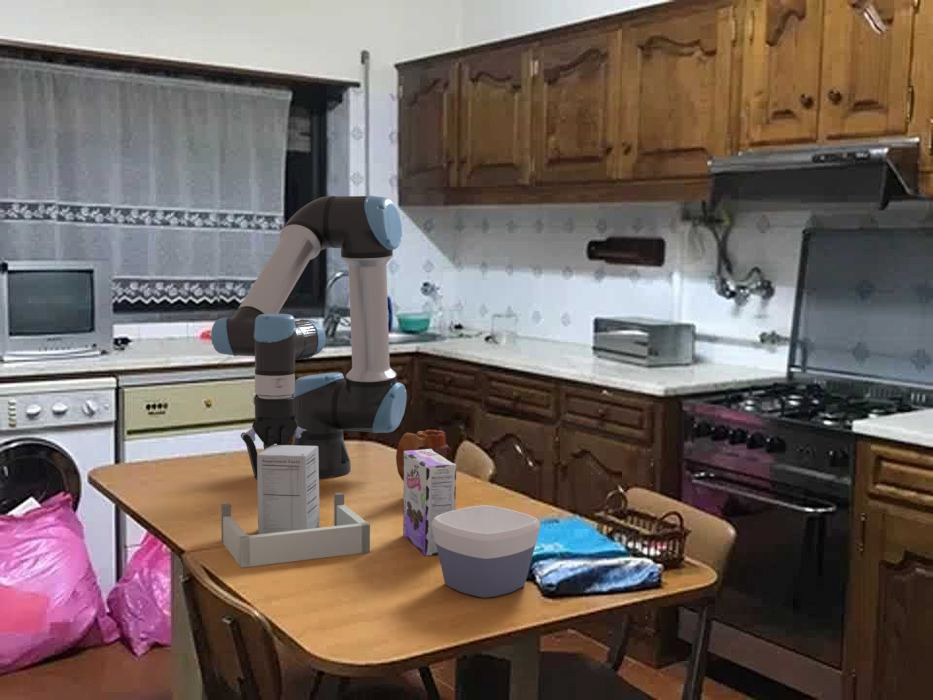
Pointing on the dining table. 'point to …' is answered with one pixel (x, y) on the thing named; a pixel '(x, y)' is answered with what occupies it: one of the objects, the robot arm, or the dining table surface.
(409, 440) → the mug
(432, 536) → the candy box
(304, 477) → the supplement box
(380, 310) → the robot arm
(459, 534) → the bowl
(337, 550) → the bay
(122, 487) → the dining table surface
